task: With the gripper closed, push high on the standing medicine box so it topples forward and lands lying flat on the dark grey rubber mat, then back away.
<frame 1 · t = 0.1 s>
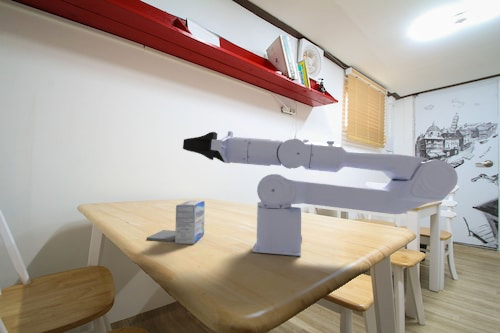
hand: (191, 146, 52), 22 cm above the table, tool horizontal, fingers open, 7 cm apart
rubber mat: (167, 236, 54), on the table
medicine box: (190, 240, 53), on the table
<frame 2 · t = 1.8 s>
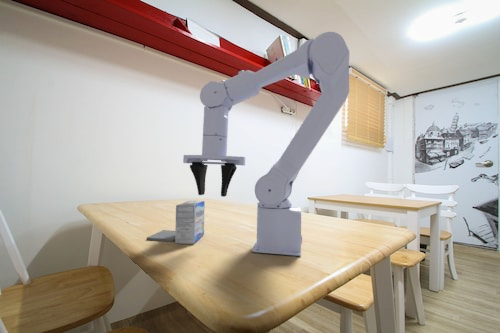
hand: (212, 195, 52), 10 cm above the table, tool pointing down, fingers open, 5 cm apart
nothing on the table moved.
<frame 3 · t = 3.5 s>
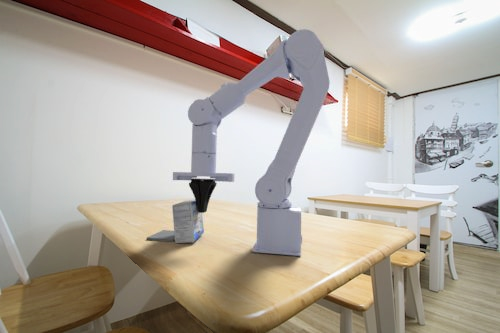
hand: (202, 211, 53), 6 cm above the table, tool pointing down, fingers closed
medicine box: (190, 239, 53), on the table, touching gripper
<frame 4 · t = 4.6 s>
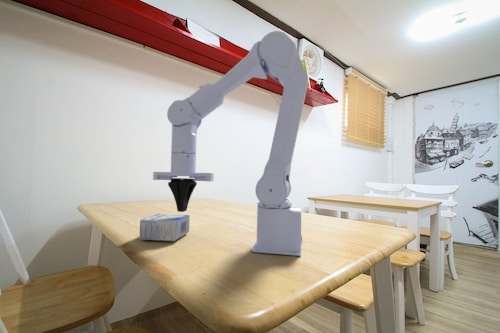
hand: (182, 211, 54), 6 cm above the table, tool pointing down, fingers closed
medicine box: (184, 227, 53), point 3 cm above the table, touching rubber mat
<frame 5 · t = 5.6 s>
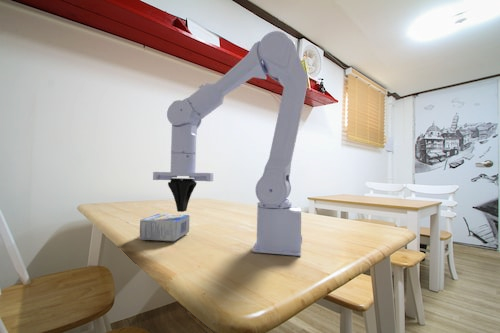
hand: (181, 211, 54), 6 cm above the table, tool pointing down, fingers closed
nothing on the table moved.
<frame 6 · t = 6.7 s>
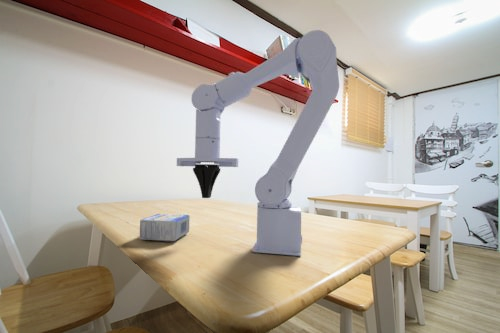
hand: (206, 197, 53), 10 cm above the table, tool pointing down, fingers closed
nothing on the table moved.
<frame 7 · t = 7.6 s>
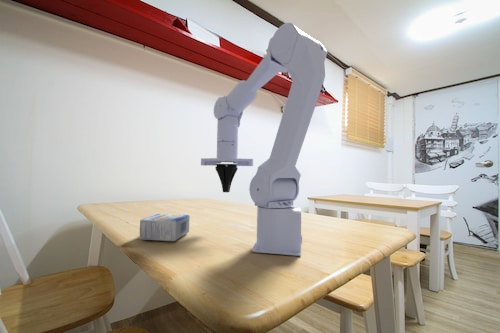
hand: (226, 192, 62), 10 cm above the table, tool pointing down, fingers closed
nothing on the table moved.
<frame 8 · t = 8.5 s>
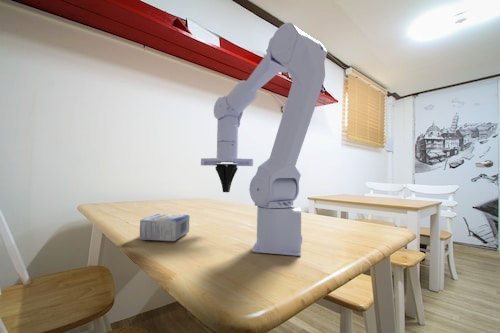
hand: (226, 192, 62), 10 cm above the table, tool pointing down, fingers closed
nothing on the table moved.
at the end: medicine box tilted 89°; medicine box inside the target area (5.4 cm from its centre), point 2.7 cm above the table; the gripper is holding nothing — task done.
